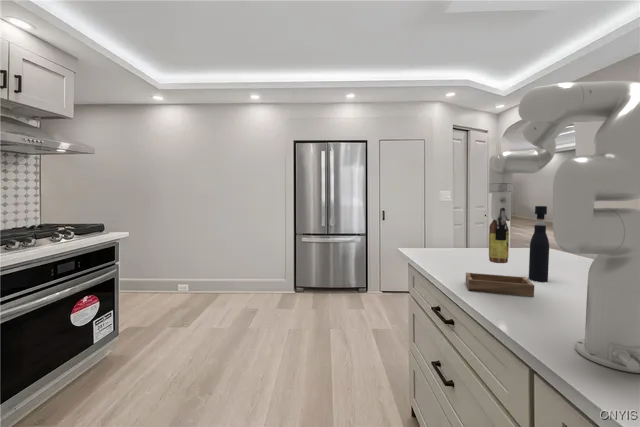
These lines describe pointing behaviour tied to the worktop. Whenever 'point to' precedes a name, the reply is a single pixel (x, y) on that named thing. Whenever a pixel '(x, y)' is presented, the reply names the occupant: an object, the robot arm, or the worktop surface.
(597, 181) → the robot arm
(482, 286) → the bottle tray
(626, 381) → the worktop surface
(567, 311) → the worktop surface
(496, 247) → the sauce bottle
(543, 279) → the wine bottle
